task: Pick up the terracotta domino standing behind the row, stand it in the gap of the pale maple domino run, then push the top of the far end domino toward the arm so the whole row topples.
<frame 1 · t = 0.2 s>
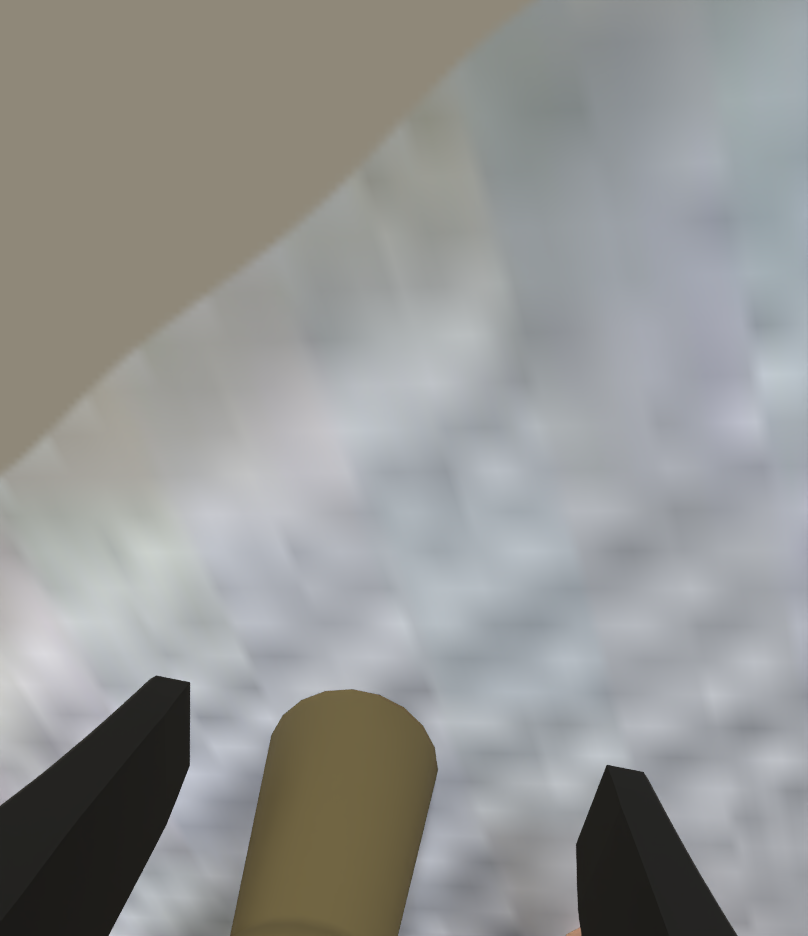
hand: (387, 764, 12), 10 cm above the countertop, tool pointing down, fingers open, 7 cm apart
cork: (353, 759, 25), on the countertop
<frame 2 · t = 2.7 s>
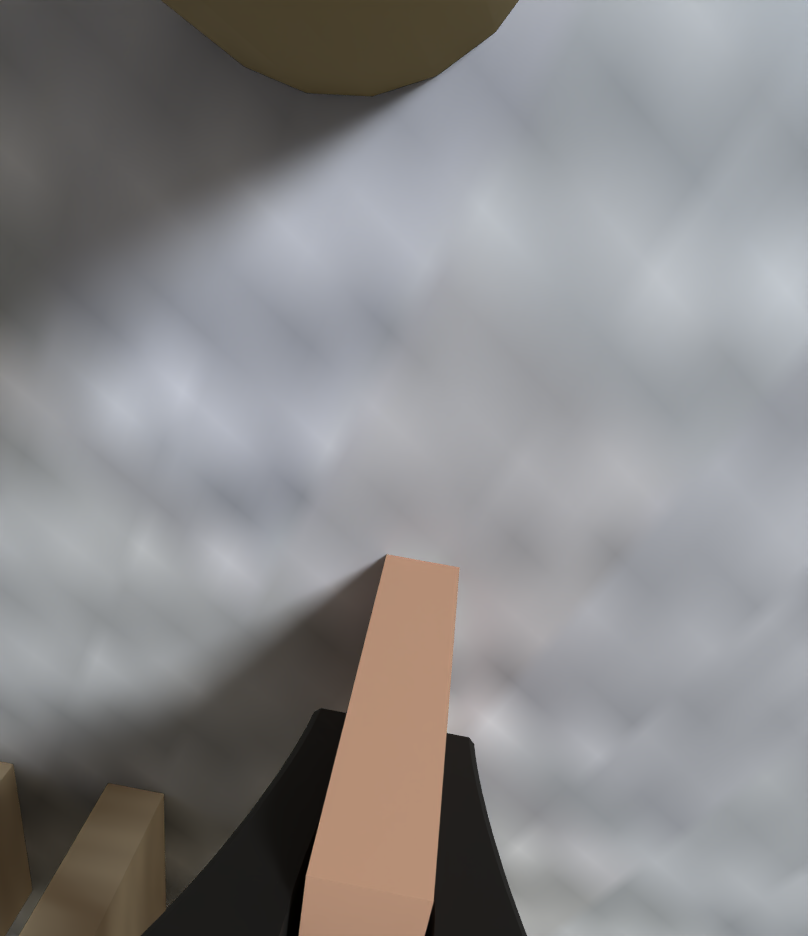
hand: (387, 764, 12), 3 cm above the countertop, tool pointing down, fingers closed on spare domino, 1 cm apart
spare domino: (405, 658, 14), on the countertop, touching gripper
middle domino: (138, 854, 18), on the countertop
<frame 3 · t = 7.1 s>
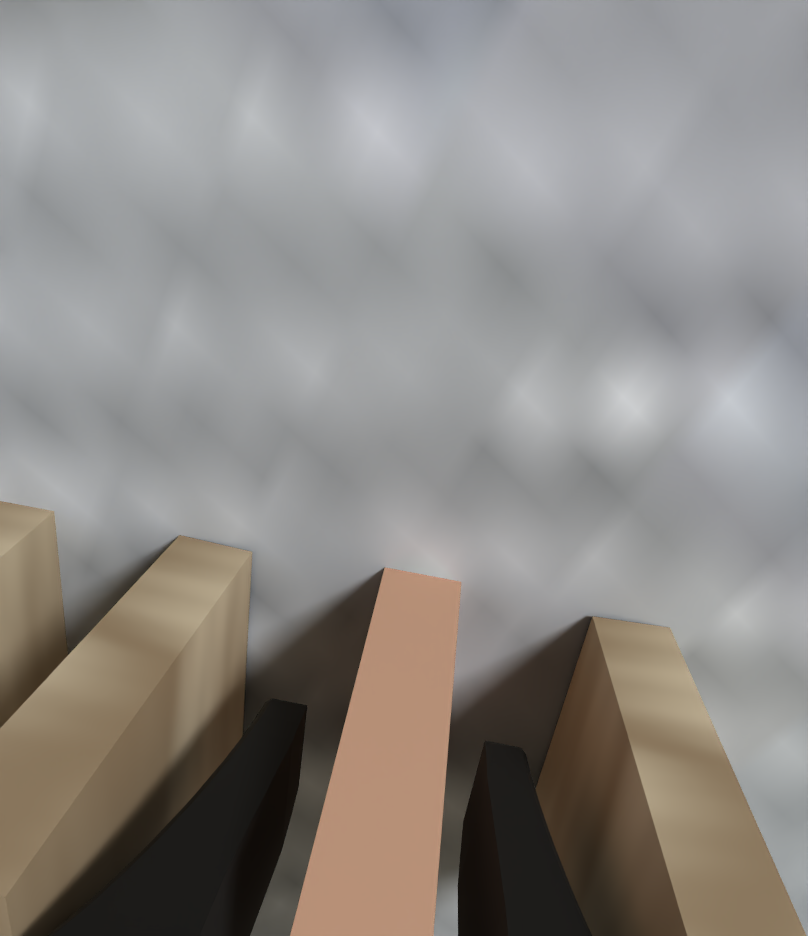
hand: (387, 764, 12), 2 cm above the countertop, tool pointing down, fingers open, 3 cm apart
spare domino: (403, 678, 14), on the countertop
middle domino: (213, 648, 14), on the countertop, touching gripper
end domino: (594, 723, 14), on the countertop
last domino: (30, 611, 14), on the countertop
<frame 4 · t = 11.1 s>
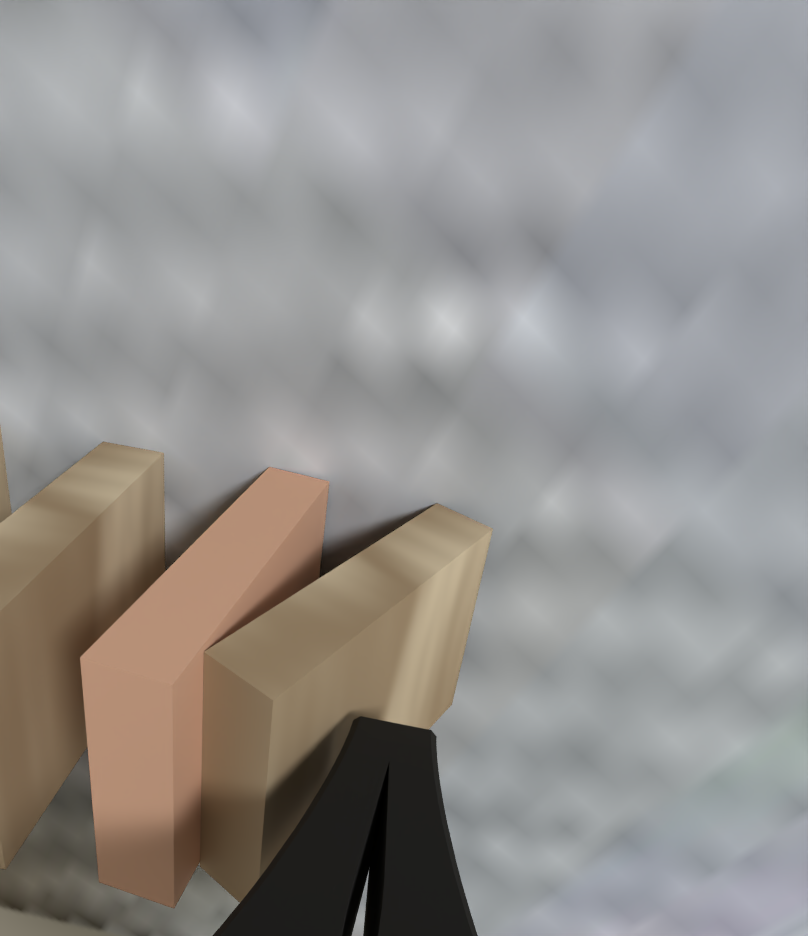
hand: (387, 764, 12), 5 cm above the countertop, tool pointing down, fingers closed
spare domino: (291, 568, 16), on the countertop, tilted 7°
middle domino: (136, 541, 17), on the countertop
end domino: (444, 608, 16), on the countertop, tilted 28°
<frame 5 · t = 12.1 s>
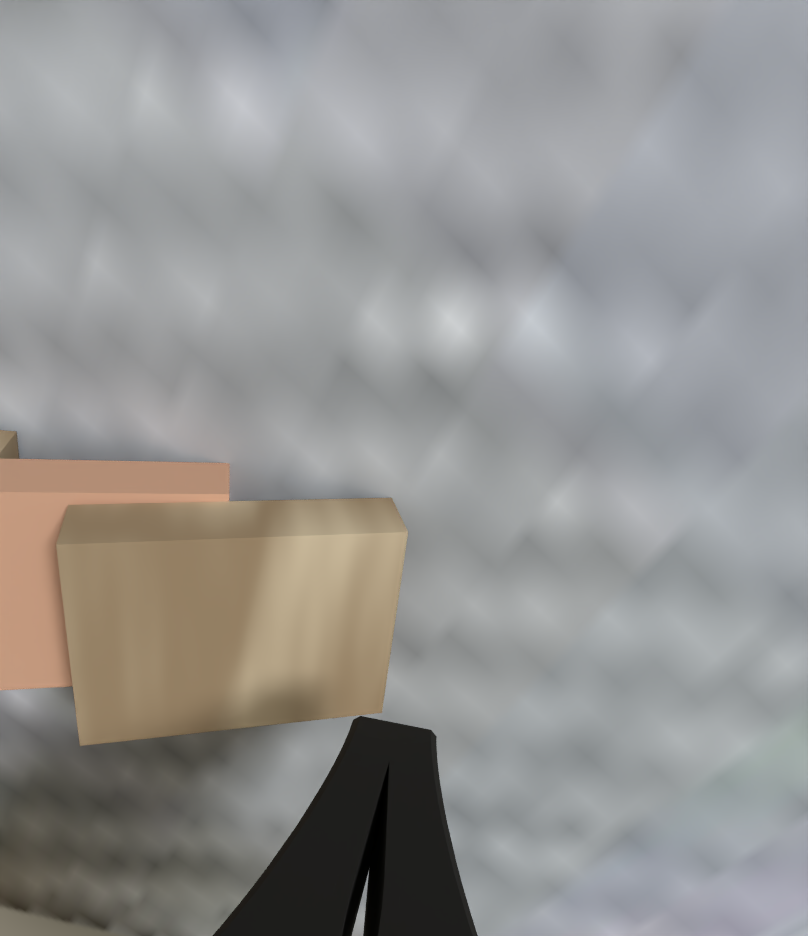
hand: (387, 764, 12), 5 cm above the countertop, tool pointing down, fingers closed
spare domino: (227, 574, 16), point 1 cm above the countertop, tilted 71°, touching end domino, middle domino
middle domino: (15, 542, 16), point 1 cm above the countertop, tilted 74°, touching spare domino
end domino: (386, 608, 16), point 1 cm above the countertop, tilted 68°, touching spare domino
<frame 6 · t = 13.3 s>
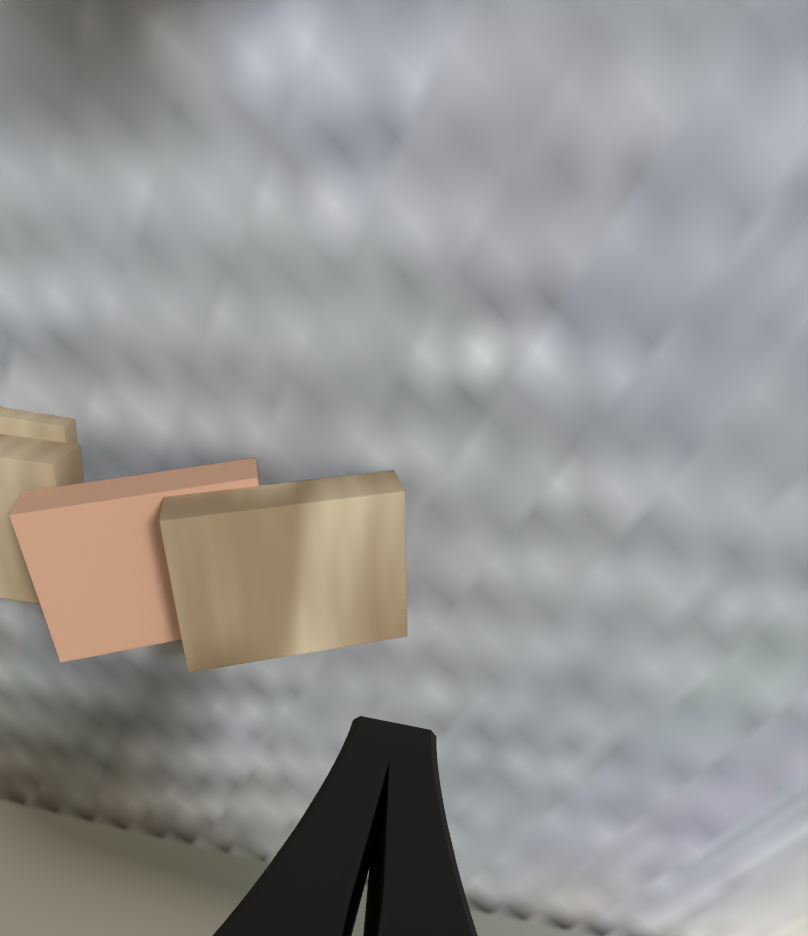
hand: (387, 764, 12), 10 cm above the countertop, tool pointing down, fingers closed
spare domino: (268, 541, 21), point 1 cm above the countertop, tilted 70°, touching end domino
middle domino: (76, 528, 21), point 1 cm above the countertop, tilted 90°, touching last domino
end domino: (400, 555, 21), point 1 cm above the countertop, tilted 70°, touching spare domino
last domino: (83, 489, 22), on the countertop, tilted 90°, touching middle domino
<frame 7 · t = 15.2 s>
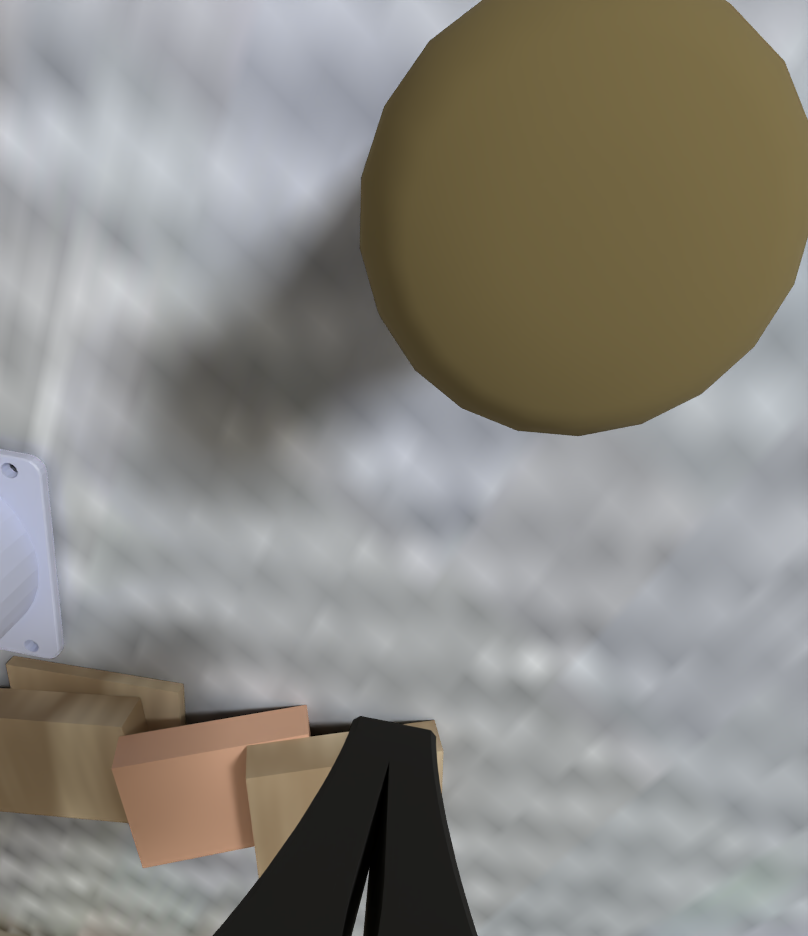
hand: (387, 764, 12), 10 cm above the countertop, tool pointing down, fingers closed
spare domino: (315, 769, 26), point 1 cm above the countertop, tilted 73°, touching end domino
middle domino: (144, 762, 26), point 1 cm above the countertop, tilted 90°, touching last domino
end domino: (437, 786, 25), point 1 cm above the countertop, tilted 73°, touching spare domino
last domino: (189, 728, 27), on the countertop, tilted 90°, touching middle domino
cork: (534, 177, 17), on the countertop
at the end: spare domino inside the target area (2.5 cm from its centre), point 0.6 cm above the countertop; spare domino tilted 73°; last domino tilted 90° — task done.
